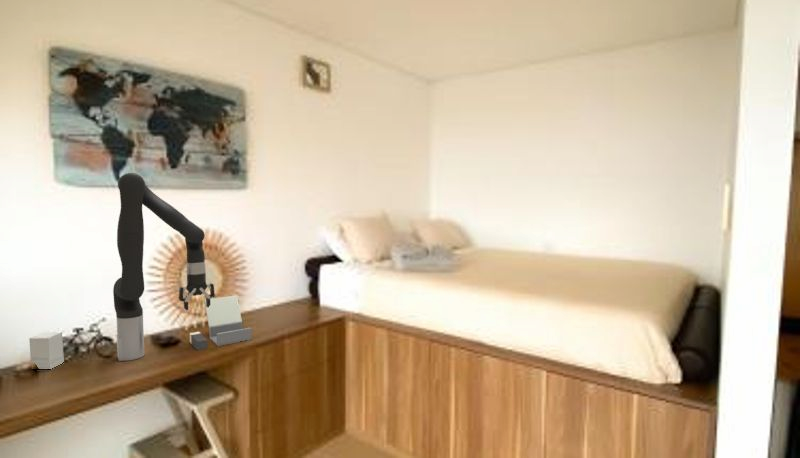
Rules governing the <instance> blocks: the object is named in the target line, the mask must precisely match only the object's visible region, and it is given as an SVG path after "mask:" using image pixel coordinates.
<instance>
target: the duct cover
mask: <svg viewBox="0 0 800 458" xmlns="http://www.w3.org/2000/svg"><path fill="white" fill-rule="evenodd" d="M238 298H239V297H238V295H237V294H235V295H229V296H220V297H212V298H211V299H210V306H209V307H206V298H205V299H204V304H205V310H206V317H207V324H208V327H212V326H218V325H224V324H230V323H236V322H243V320H242V314H241V309H240V308H241V307H240V304H239V299H238Z"/></svg>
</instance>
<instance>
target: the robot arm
mask: <svg viewBox="0 0 800 458" xmlns="http://www.w3.org/2000/svg"><path fill="white" fill-rule="evenodd" d="M117 187H118V190H119V196H120V197H119V199H120V200H119V201H120V212H119V215H118V221H117V233H116V234H117V235H116V243H117V244H116V245H117V251H118V255H119V259H120V262H121V277H119V278H118V279H116V281H115V282H114V285H113V289H112V294H113V306H114V312H115V317H116V349H117V351H116V353H117V358H118V361H119V362H123V361H126V362H127V361H134V360H137V359H141V358H143V357H144V356H145V335H144V332H145V331H144V311H143V309H144V308H143V307H142V304H141V300H140V299H141V297H142V296H143V295H144V293H145V280H144V270H143V269H144V268H143V263H144V262H143V261H144V243H145V241H144V240H145V227H144V226H145V225H144V216H143V214H144V213H143V206H145V208H147V209H149V210H150V211H151V212H152V213H153V214H155V215H156V217H158V218H159V219H160V220H161V221H163V222H164V223H166V225H168V226H169V227H170V228H171V229H173V230H175V231H176V232H177V233H179V234H180V235H182V236H183V237H184V238H185V246H186V272H185V273H186V286H179V287H178V300H179V301H180V302H183V309H185V311H189V300H190V298H191V297H192V296H196V297H197V296H201V295H204V297H205V299H206V306H205V308H206V307H209V306H210V299H211V298H215V297H216V294H215V285H214V284H213V283H212V282H210V283H207V277H206V276H207V275H206V274H207V273H206V261H205V251H204V248H203V242H204V241H205V238H206V236H205V232H204V231H203V229H202V228H201V227H200V226H198V225H196V223H194V222H193V221H190V220H189V219H188V218H187V217H186V216H185V215H184V214H182V212H180V211H179V210H178V209H176V208H175V207H174V206H172V205H171V204H170V203H168V202H166V201H165V200H164V199H162V198H161V197H160V196H158V195H157V194H156V193H154V192H153V191H152V190H151V188H149V187H148V185H147V184H146V182H145V180H144V178H143V177H142V176H141V175H139V174H138V173H134V172H128V173H127V172H126V173H124V174H123V175H121V177H119V179H118V182H117ZM207 288H208V289H209V291H210V293H208V292H207V291H206V289H207ZM186 291H187V293H186V295H184V293H185V292H186Z"/></svg>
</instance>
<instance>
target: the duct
mask: <svg viewBox="0 0 800 458" xmlns="http://www.w3.org/2000/svg"><path fill="white" fill-rule="evenodd" d="M243 324H244V323H243V321H242V322H236V323H230V324H224V325H218V326H212V327H209V326H208V327H209V339H210V340H211V342H213V343H214V344H215V345H216V346H217V347H220V346H225V345H229V344H236V343H240V341H242V342H246V341H245V340H247V341H252V340H251V339H252V338H253V337H252V327H245V328H244V325H243Z"/></svg>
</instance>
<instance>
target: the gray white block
mask: <svg viewBox="0 0 800 458" xmlns="http://www.w3.org/2000/svg"><path fill="white" fill-rule="evenodd" d="M189 343H190V344H191V345H192V346H193V347H194V348H195V350H196V351H202V350H207V349H208V338H206V337H205V336H204V335H203V334H202V333H201V331H195V332H190V333H189Z"/></svg>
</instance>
